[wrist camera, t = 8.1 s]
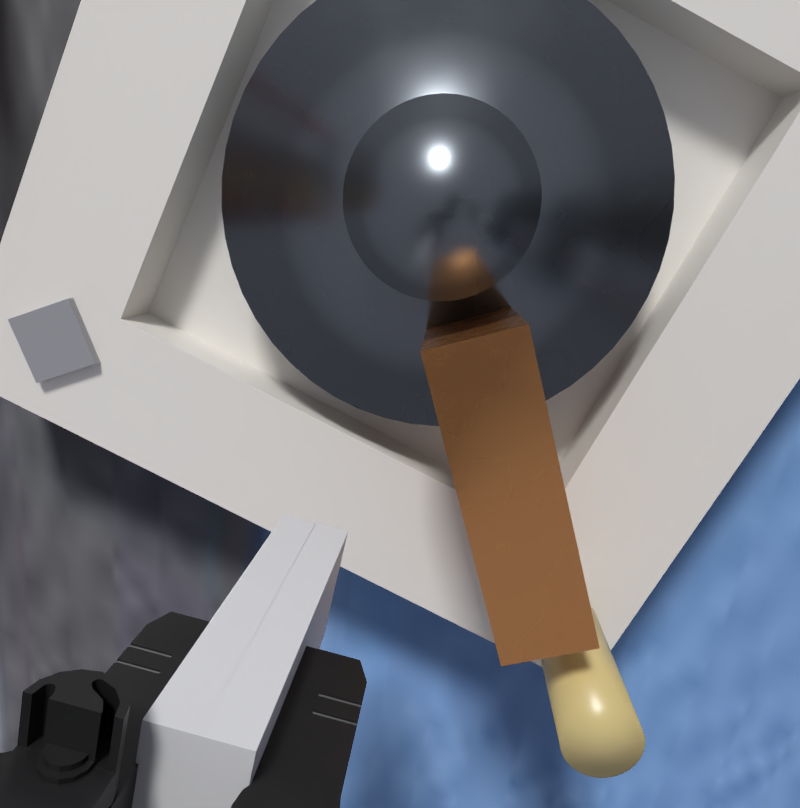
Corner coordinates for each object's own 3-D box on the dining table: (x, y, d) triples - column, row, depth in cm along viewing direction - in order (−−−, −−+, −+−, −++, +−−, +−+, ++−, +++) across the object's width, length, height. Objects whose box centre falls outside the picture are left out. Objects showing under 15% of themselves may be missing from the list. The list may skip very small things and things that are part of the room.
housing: (945, 47, 19) (1338, -112, 11) (564, 622, 25) (625, 821, 16) (281, -329, 18) (135, -832, 10) (33, 354, 24) (-202, 415, 15)
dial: (190, 59, 19) (74, -26, 13) (608, -76, 17) (691, -242, 11) (349, 581, 22) (314, 700, 16) (707, 508, 21) (809, 610, 15)
